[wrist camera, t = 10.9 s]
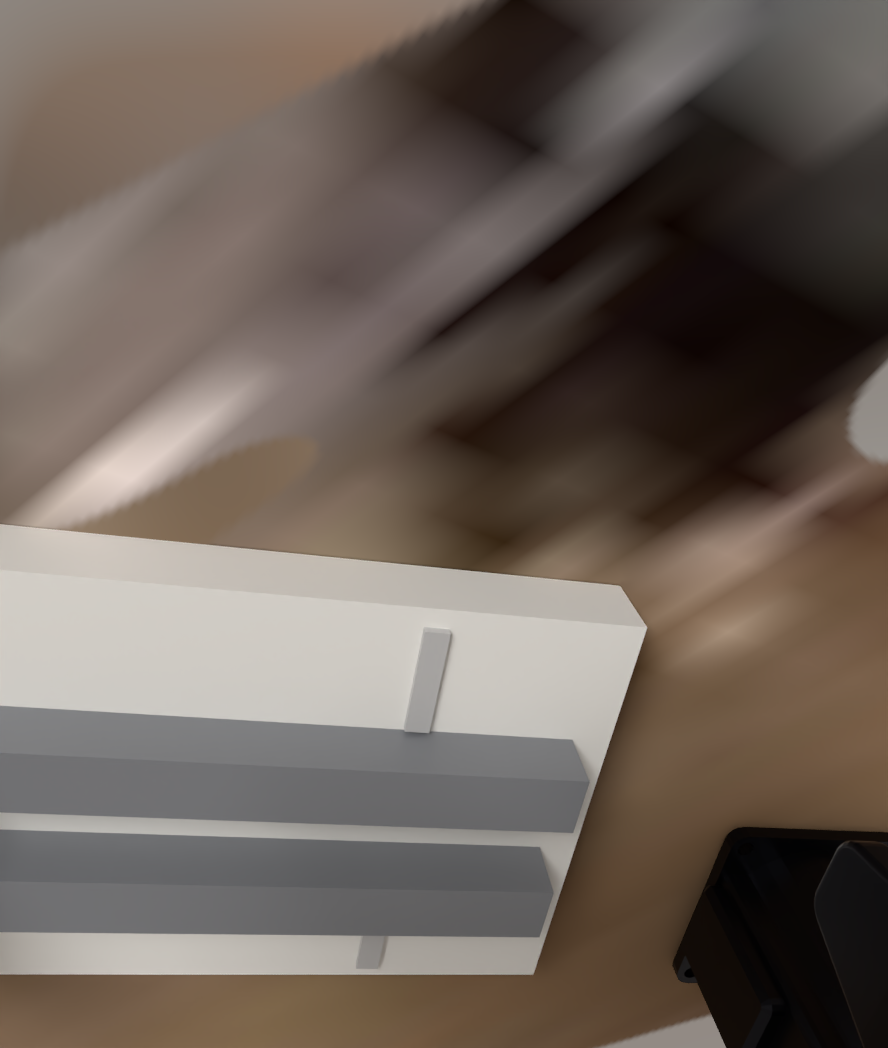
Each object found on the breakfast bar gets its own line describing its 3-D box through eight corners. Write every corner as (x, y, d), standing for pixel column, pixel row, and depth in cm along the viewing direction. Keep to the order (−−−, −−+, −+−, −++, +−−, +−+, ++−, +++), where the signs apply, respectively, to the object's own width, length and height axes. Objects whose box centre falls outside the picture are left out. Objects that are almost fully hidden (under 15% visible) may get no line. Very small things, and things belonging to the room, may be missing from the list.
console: (620, 585, 22) (671, 663, 19) (518, 916, 27) (545, 1023, 23) (-498, 475, 17) (-681, 555, 14) (-373, 904, 22) (-488, 1036, 19)
